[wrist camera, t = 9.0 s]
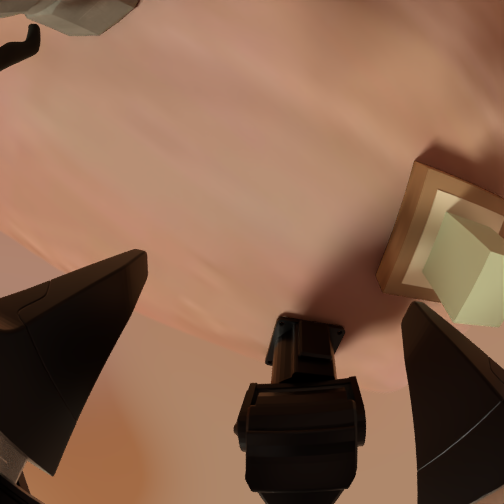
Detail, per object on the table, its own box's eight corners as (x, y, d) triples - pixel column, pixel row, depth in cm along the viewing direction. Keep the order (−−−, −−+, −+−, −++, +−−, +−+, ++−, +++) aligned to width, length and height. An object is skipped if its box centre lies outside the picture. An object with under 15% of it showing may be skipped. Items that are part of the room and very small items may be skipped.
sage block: (466, 281, 19) (499, 327, 14) (421, 271, 20) (453, 322, 14) (490, 227, 17) (533, 266, 12) (445, 211, 17) (490, 251, 12)
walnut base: (460, 291, 23) (471, 308, 21) (375, 275, 23) (383, 293, 21) (500, 196, 18) (517, 207, 16) (414, 160, 18) (429, 168, 16)
